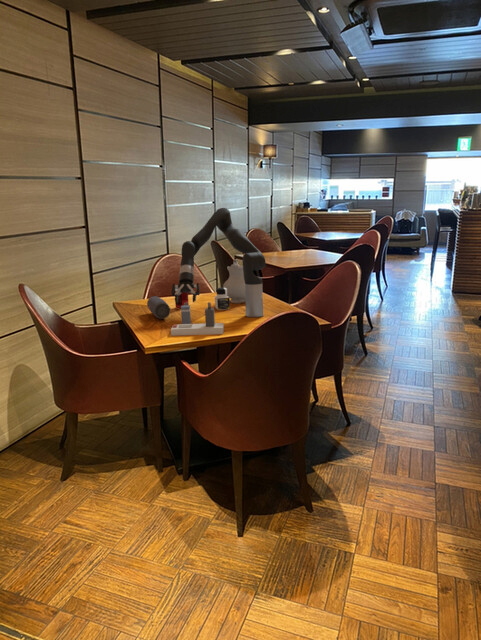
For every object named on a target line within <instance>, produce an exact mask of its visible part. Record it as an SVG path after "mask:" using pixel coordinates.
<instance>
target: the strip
mask: <svg viewBox="0 0 481 640" xmlns="http://www.w3.org/2000/svg"><path fill="white" fill-rule="evenodd" d="M215 316H216V315H215V308H214V307H212V302H207V308H206V307H205V309H204V318H205V323H191V324H182V323H180V324H177V323H176V324H173V325H172V326H171V329H170V336H174V337H175V336H199V335H201V336H202V335H203V336H204V335H205V336H206V335H223V334H224V331H225V327H224V326H225V323H224V322H215V321H216V320H215Z"/></svg>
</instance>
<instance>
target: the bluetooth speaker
mask: <svg viewBox="0 0 481 640" xmlns="http://www.w3.org/2000/svg"><path fill="white" fill-rule="evenodd" d="M146 306H147V308H148V310H149V312H151V313H152V315H154V316H155V318H157V319H159V320H160V319H166V318H168V317H169V316H170V315H171V307H170V305H169V304H168V302H166V301H165V300H164V299H163V298H161V297H159V296H156V295H155V296H151V297H149V298H148V300H147V302H146Z"/></svg>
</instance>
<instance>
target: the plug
mask: <svg viewBox="0 0 481 640" xmlns="http://www.w3.org/2000/svg"><path fill="white" fill-rule="evenodd" d="M180 316H181V317H180V318H181V324H192V318H191V305H185V306H181V309H180Z"/></svg>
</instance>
